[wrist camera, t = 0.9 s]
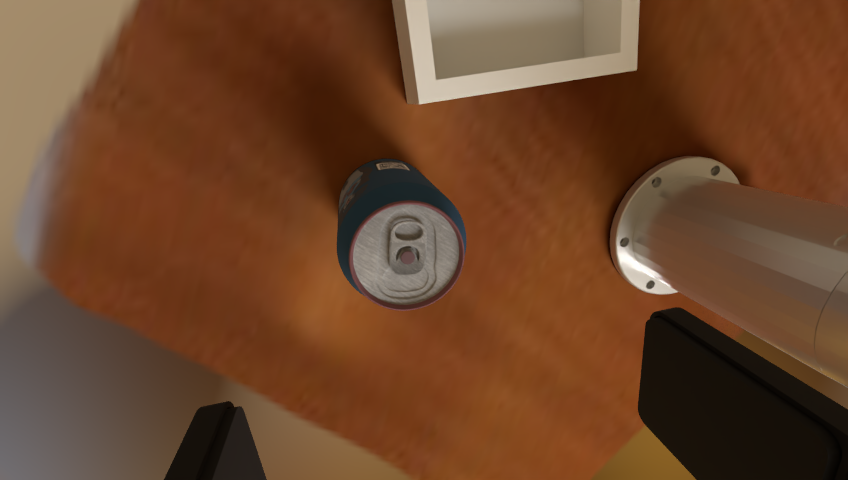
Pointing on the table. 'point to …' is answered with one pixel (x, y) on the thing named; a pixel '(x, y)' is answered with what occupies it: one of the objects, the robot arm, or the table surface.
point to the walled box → (510, 44)
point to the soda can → (398, 236)
